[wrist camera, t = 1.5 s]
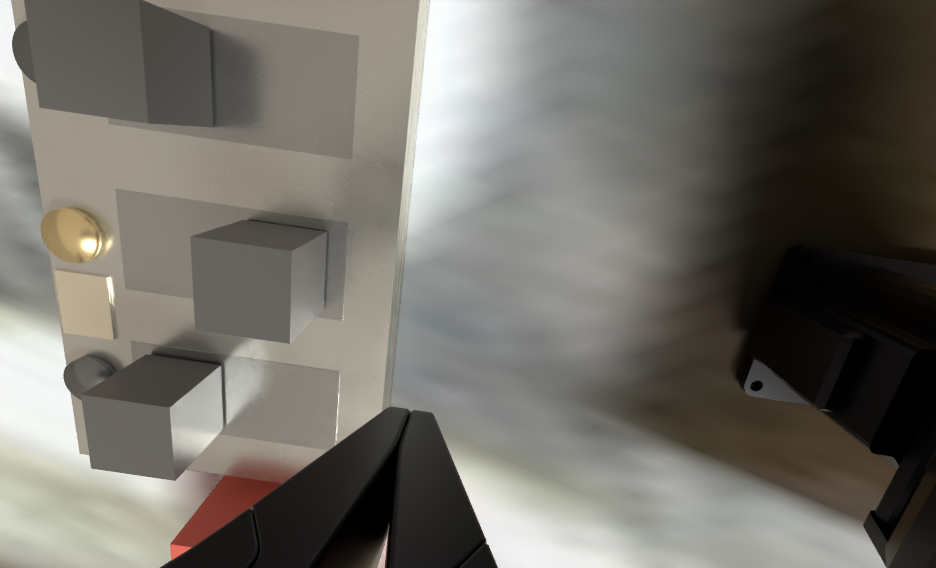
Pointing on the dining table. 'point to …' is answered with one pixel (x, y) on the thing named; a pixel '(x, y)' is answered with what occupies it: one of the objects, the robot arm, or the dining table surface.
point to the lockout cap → (220, 509)
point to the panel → (245, 217)
